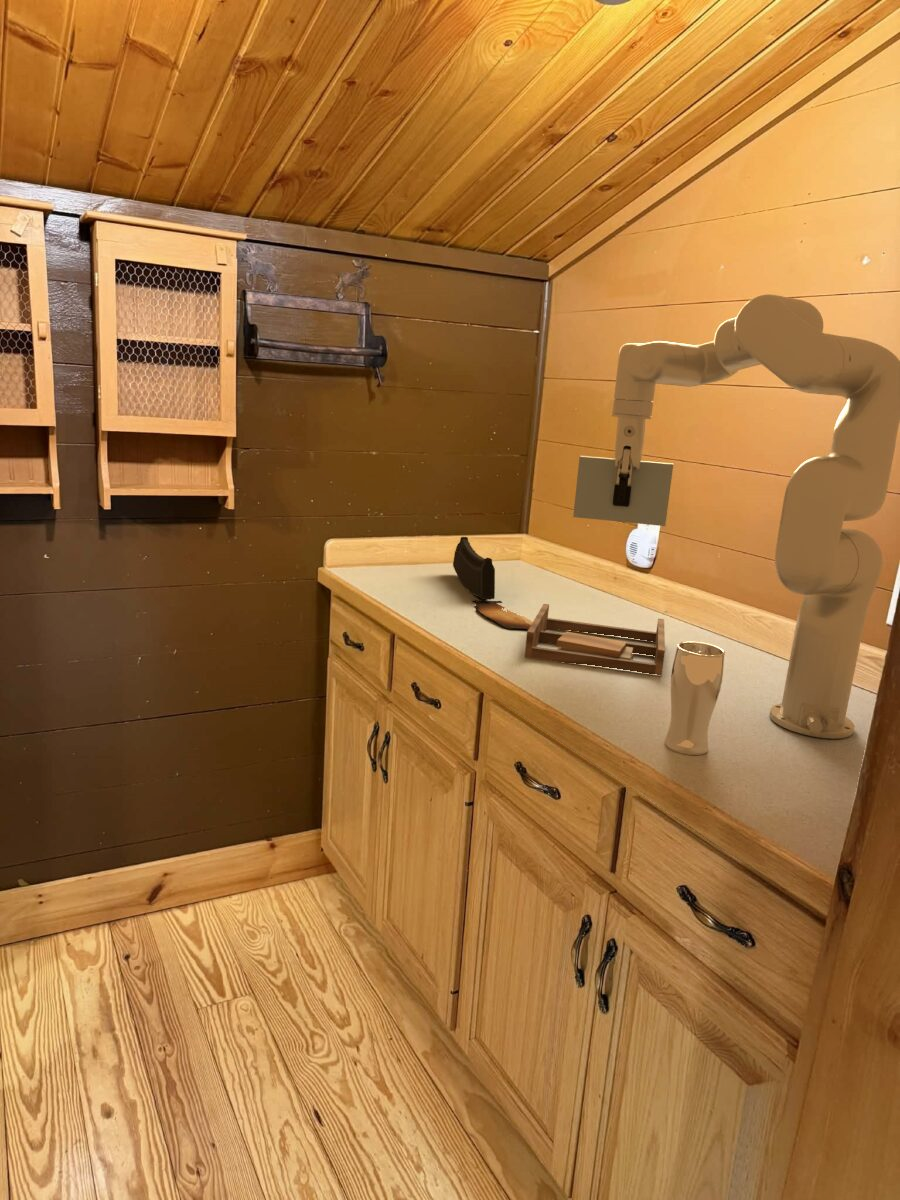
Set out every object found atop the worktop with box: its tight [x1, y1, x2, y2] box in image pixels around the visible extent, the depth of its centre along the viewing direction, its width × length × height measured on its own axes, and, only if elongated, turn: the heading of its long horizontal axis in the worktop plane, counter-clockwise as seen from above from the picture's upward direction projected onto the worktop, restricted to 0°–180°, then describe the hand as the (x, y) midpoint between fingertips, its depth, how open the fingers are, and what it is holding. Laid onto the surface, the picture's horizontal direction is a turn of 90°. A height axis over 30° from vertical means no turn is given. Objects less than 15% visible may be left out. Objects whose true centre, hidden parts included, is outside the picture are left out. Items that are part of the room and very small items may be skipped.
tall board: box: [572, 455, 674, 527], centre depth 166 cm, size 3×18×12 cm, turn 77°
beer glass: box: [664, 641, 726, 756], centre depth 120 cm, size 7×7×15 cm
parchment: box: [471, 599, 533, 631], centre depth 187 cm, size 25×10×1 cm, turn 19°
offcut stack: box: [556, 631, 634, 660], centre depth 161 cm, size 8×14×4 cm, turn 71°
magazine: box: [452, 536, 496, 601], centre depth 209 cm, size 17×3×30 cm
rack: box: [524, 603, 666, 676], centre depth 166 cm, size 24×25×5 cm
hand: (621, 504), depth 167 cm, fingers closed on tall board, 3 cm apart
